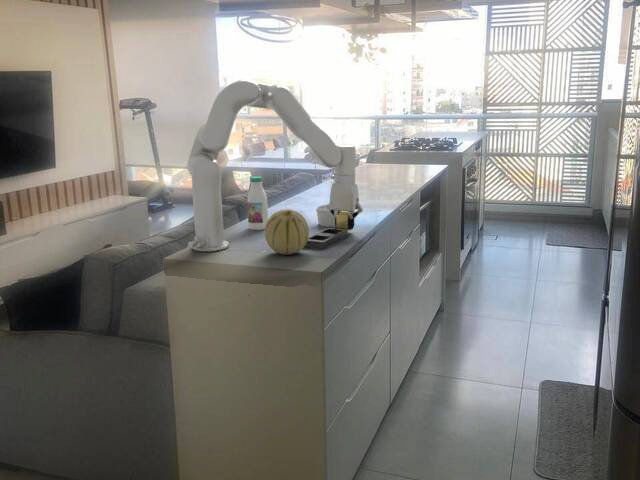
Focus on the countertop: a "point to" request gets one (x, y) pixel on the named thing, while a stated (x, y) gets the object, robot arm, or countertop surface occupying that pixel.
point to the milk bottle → (257, 205)
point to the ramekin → (325, 216)
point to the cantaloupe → (286, 232)
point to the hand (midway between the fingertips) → (344, 227)
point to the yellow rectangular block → (342, 220)
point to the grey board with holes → (326, 238)
